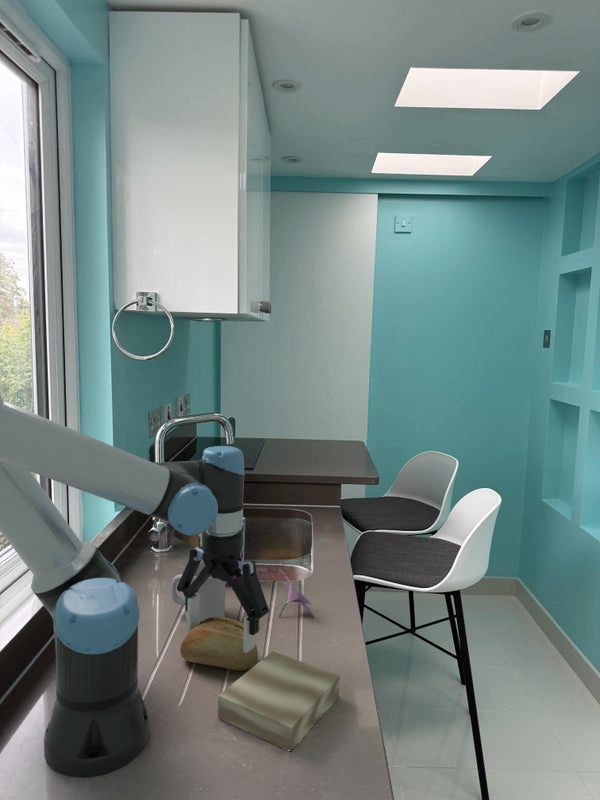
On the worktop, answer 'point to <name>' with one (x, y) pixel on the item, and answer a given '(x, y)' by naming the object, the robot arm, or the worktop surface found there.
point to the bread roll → (218, 644)
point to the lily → (295, 596)
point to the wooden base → (279, 699)
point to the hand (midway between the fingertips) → (220, 638)
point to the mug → (205, 596)
